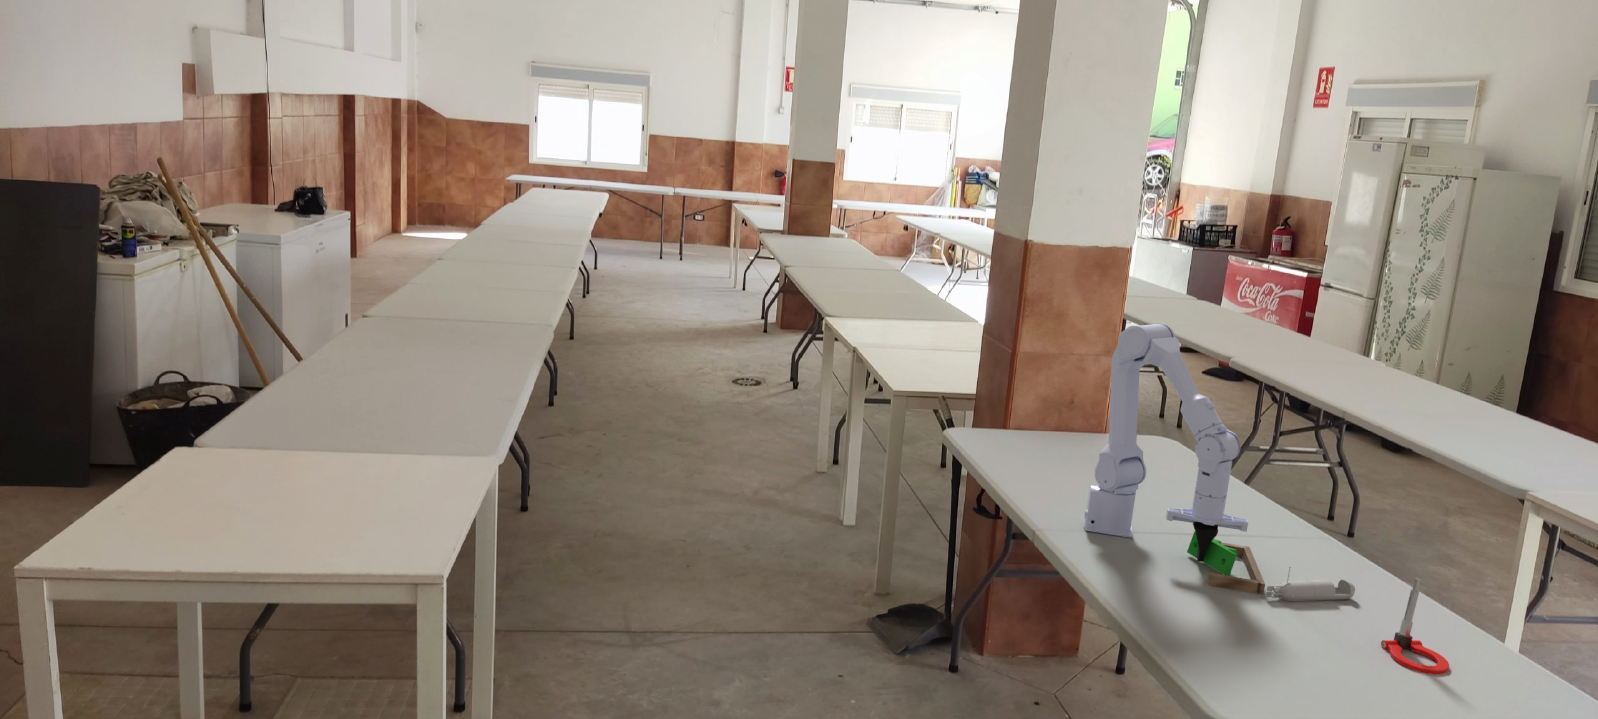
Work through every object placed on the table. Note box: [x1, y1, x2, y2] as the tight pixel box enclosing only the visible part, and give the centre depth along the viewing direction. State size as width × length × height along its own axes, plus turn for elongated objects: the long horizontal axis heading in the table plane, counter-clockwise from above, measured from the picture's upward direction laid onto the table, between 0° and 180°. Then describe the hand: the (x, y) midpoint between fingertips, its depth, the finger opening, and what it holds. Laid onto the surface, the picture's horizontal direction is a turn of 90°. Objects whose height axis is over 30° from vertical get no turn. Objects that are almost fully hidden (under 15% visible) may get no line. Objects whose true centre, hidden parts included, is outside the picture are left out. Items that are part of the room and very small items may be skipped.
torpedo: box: [1264, 566, 1356, 602], centre depth 194 cm, size 18×5×6 cm, turn 103°
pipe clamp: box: [1186, 530, 1237, 576], centre depth 206 cm, size 11×4×5 cm, turn 18°
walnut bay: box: [1206, 541, 1266, 595], centre depth 205 cm, size 10×19×2 cm, turn 166°
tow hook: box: [1380, 577, 1450, 675], centre depth 172 cm, size 8×13×9 cm
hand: (1200, 559), depth 206 cm, fingers closed, pressing on pipe clamp
